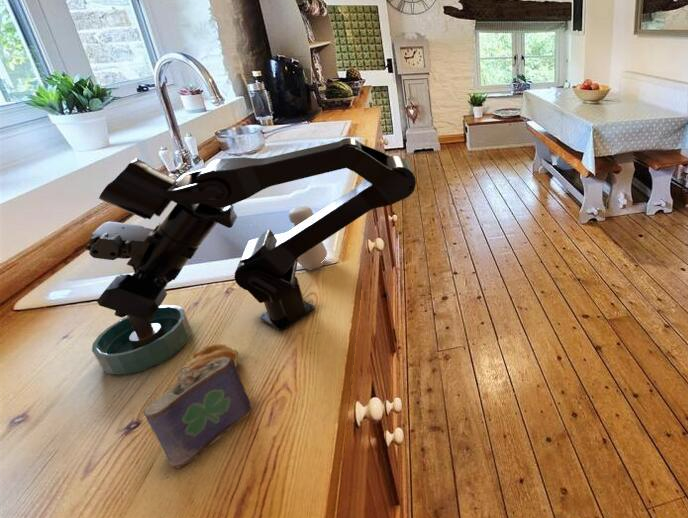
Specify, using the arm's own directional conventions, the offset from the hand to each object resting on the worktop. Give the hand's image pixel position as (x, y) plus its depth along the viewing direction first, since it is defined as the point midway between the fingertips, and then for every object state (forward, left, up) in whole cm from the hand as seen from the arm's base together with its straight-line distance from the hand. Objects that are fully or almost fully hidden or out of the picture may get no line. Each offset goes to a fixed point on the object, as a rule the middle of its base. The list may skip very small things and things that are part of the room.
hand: (122, 310), depth 62 cm
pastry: (-17, -3, -8) cm, 19 cm away
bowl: (-1, -1, -8) cm, 8 cm away
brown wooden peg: (-1, -1, -7) cm, 7 cm away
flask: (-26, +1, -8) cm, 27 cm away
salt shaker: (-3, -29, -8) cm, 30 cm away
